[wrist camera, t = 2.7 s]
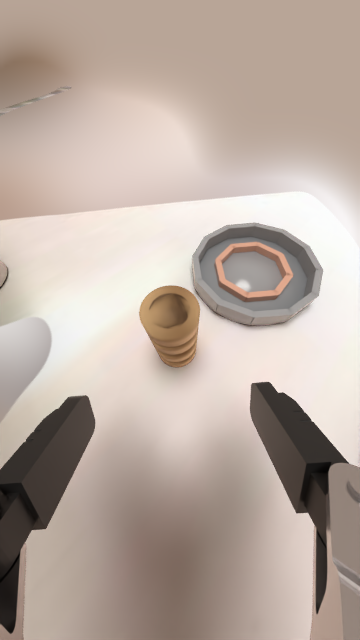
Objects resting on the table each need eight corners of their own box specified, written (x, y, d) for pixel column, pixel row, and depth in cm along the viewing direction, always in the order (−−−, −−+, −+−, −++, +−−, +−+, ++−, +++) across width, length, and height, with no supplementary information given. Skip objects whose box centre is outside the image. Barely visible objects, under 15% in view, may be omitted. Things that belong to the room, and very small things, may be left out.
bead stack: (158, 368, 20) (138, 340, 12) (158, 332, 22) (140, 288, 14) (197, 365, 20) (203, 335, 12) (193, 329, 22) (196, 283, 14)
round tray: (200, 330, 22) (201, 322, 20) (188, 241, 29) (188, 228, 27) (331, 320, 22) (346, 310, 19) (285, 233, 29) (293, 219, 27)
